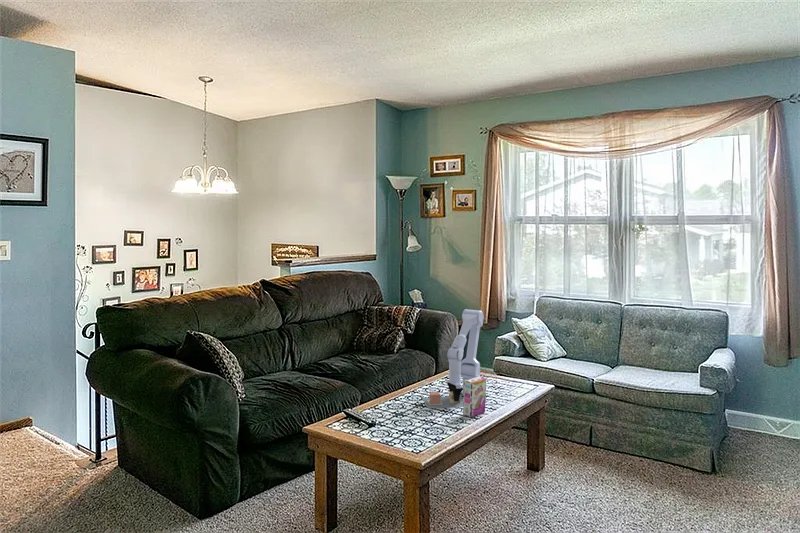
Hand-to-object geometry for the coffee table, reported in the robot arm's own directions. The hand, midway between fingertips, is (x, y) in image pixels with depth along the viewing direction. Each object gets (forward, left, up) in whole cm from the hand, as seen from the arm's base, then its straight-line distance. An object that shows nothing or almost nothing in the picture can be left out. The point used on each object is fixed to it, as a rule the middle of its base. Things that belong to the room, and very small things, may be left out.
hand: (454, 398), depth 274 cm
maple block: (0, 0, -2) cm, 2 cm away
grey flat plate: (+5, 0, -2) cm, 5 cm away
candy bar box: (-5, +18, -2) cm, 19 cm away
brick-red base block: (+10, 0, -2) cm, 10 cm away
